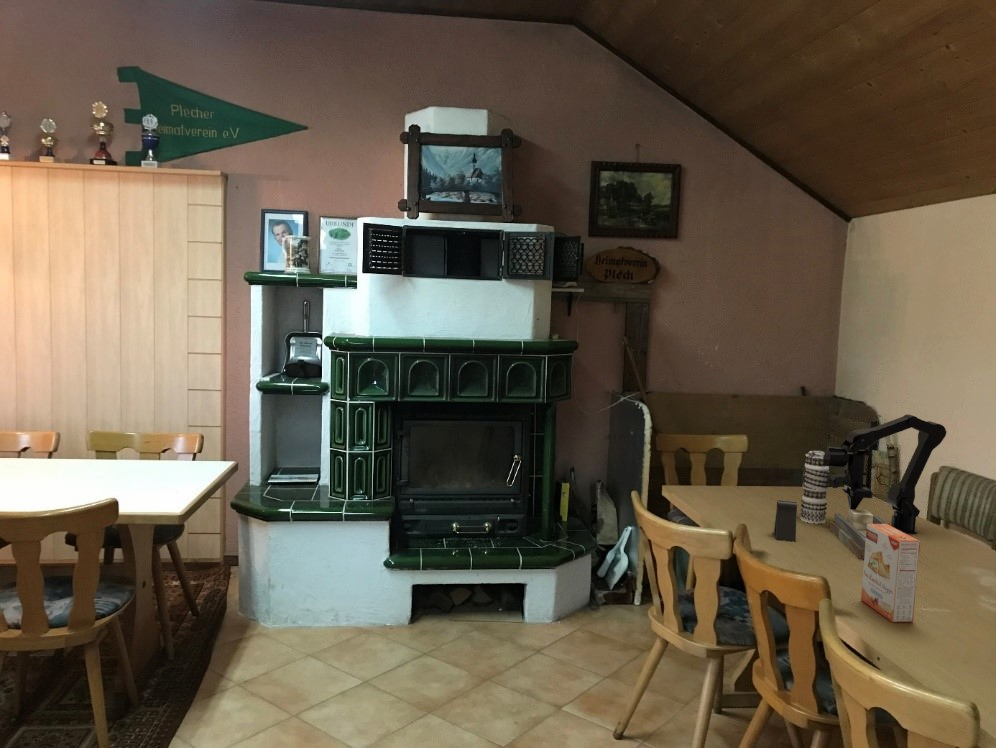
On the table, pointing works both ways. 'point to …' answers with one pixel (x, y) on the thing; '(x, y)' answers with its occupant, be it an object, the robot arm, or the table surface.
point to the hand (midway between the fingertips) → (852, 511)
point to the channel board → (851, 534)
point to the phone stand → (785, 521)
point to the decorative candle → (814, 488)
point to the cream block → (860, 518)
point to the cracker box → (890, 572)
